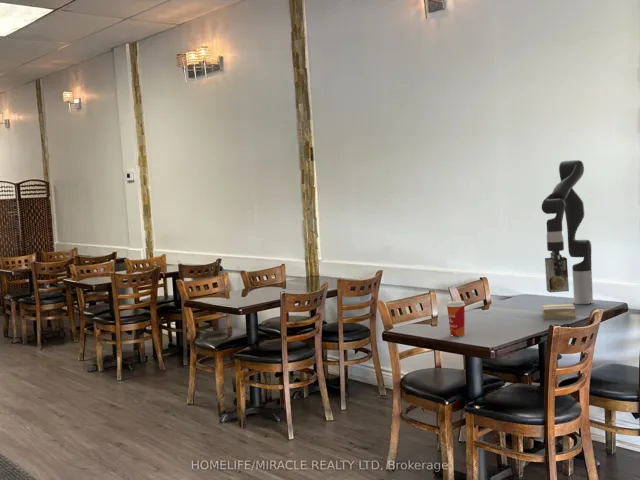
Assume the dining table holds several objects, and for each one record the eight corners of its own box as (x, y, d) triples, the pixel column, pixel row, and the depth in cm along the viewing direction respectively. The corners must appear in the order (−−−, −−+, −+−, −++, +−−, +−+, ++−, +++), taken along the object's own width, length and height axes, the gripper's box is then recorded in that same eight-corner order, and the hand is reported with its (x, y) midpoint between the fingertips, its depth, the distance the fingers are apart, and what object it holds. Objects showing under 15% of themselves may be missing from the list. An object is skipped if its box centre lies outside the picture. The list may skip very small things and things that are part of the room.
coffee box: (565, 289, 321) (564, 256, 319) (569, 291, 314) (567, 257, 313) (546, 290, 322) (544, 257, 320) (549, 292, 315) (547, 259, 314)
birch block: (542, 314, 327) (542, 304, 326) (572, 313, 323) (572, 303, 323) (544, 319, 314) (543, 309, 314) (575, 319, 311) (575, 308, 310)
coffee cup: (445, 334, 298) (443, 301, 297) (463, 332, 298) (461, 299, 297) (451, 338, 289) (449, 304, 288) (469, 336, 290) (467, 302, 289)
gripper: (566, 241, 309) (568, 276, 310) (560, 239, 323) (561, 272, 324) (549, 242, 310) (551, 277, 311) (544, 240, 324) (545, 273, 325)
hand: (556, 275), depth 317 cm, fingers closed on coffee box, 6 cm apart
